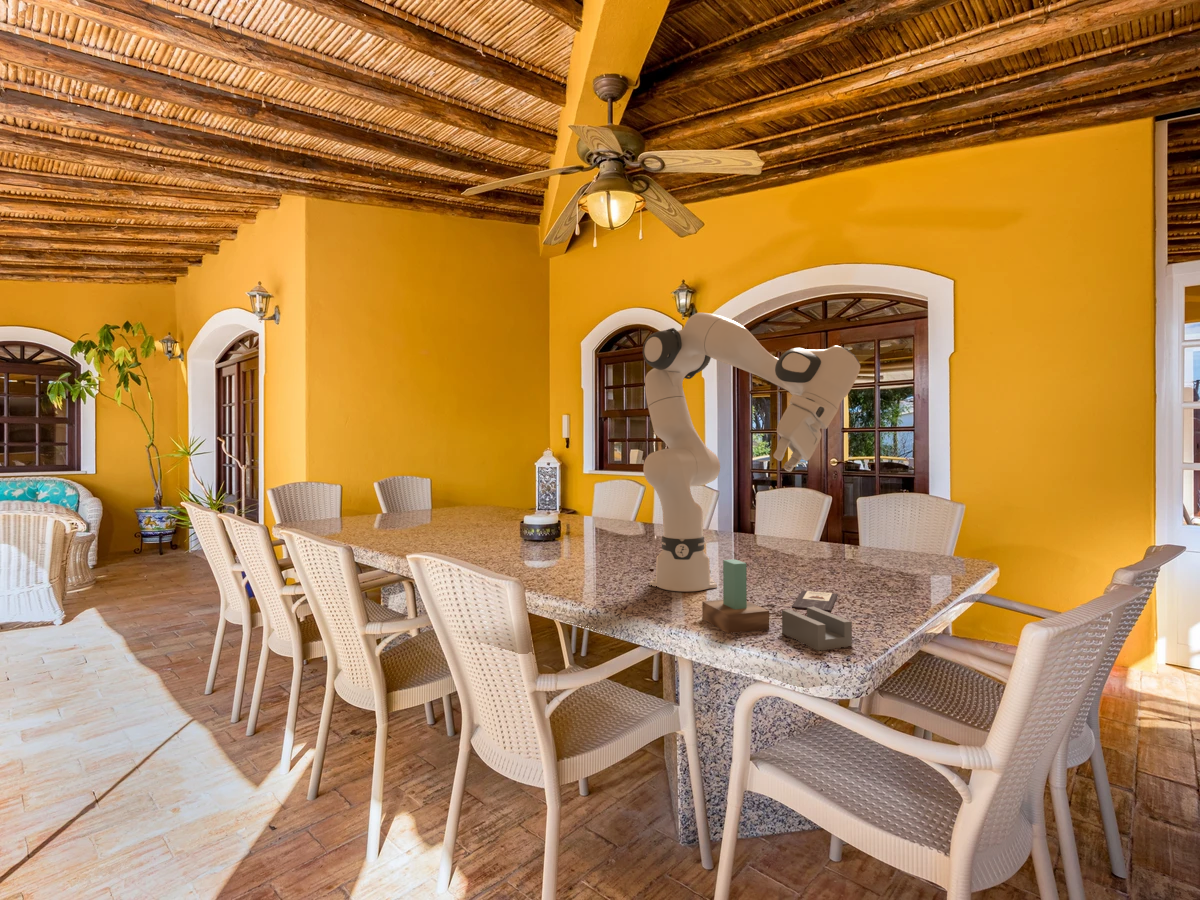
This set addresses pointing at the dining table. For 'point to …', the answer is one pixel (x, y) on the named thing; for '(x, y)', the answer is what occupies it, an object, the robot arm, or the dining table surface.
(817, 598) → the chocolate bar
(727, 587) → the sage green upright block
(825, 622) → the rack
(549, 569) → the dining table surface
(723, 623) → the brown block
